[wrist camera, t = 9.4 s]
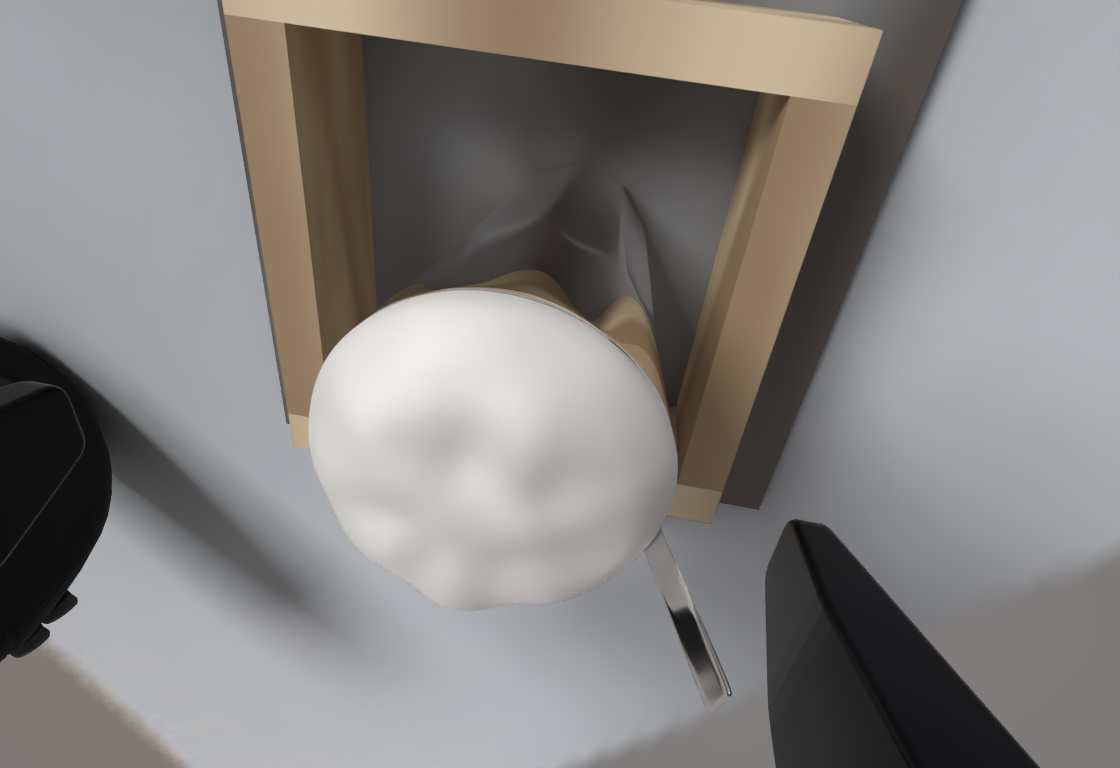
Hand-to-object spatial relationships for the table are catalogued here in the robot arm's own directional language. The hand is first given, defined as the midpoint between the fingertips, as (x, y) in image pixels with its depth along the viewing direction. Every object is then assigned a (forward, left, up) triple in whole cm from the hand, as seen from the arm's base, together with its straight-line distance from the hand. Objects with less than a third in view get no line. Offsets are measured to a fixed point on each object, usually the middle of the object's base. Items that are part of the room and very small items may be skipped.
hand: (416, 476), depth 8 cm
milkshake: (-1, 0, -8) cm, 9 cm away
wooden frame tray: (0, 0, -9) cm, 9 cm away
